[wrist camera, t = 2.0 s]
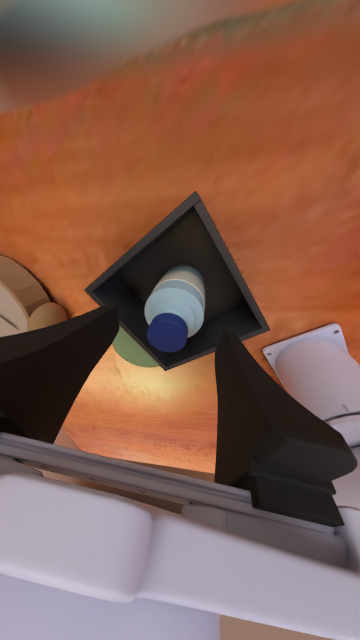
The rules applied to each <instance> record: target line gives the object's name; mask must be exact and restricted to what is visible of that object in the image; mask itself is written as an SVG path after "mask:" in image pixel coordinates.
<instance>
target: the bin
mask: <svg viewBox="0 0 360 640" xmlns="http://www.w3.org/2000/svg"><path fill="white" fill-rule="evenodd" d="M177 265H188V266H191V267H193V268H195V269H197V270H198V271H199V272H200V273H201V275H202V276H203V278H204V281H205V310H204V320H203V324H202V326H201V328H200V329H199V330H198V332H196V333H195V334H194V335H192V336H191V337H188V338H187V342H186V344H185V346H184V347H183V348H182V349H180V350H179V351H176V352H163V351H160V350H158V349H156V348H155V347H154V346H152V345H151V343H150V342H149V340H148V338H147V330H148V327H149V324H148V323H147V320H146V318H145V311H144V309H145V304H146V302H147V300H148V298H149V297H150V295H151V293H152V291H153V290H154V288H155V287H156V285H157V284H158V283H159V281H160V280H161V278H162V277H163V276H164V275H165V273H166V272H167V271H168V270H169V269H170V268H172V267H174V266H177ZM84 291H85V292H86V293H87V294H89V296H90V297H91V298H92V299H93V300H94V301H95V302H96V303H97V304H98V305H99V306H100V307H102V306H105V305H107V304H112V305H117V306H118V314H119V326H120V327H121V328H122V329H123V330H124V331H125V332H126V333H127V334H128V335H129V336H130V337H131V338H132V339H133V340H135V341H136V342H137V343H138V344H139V345H140V346H141V347H142V348H143V349H144V350H145V351H146V352H147V353H148V354H149V355H150V356H151V357H152V358H153V359H154V360H155V361H156V362H157V363H158V364H159V365H160V366H161V367H162V368H163V369H164V370H165V371H167V370H169V369H172V368H174V367H177V366H179V365H182V364H185V363H187V362H190V361H192V360H195V359H197V358H200V357H202V356H205V355H208V354H210V353H213V352H215V350H216V348H217V345H218V343H219V340H220V337H221V335H222V332H223V330H224V329H229V330H233V331H234V332H235V334H236V335H237V336H238V338H239V339H240V341H243V340H246V339H248V338H251V337H254V336H256V335H259V334H261V333H264V332H266V331H269V330H270V328H269V326H268V324H267V322H266V320H265V318H264V316H263V315H262V313H261V311H260V309H259V307H258V305H257V303H256V301H255V299H254V297H253V295H252V294H251V292H250V290H249V288H248V286H247V284H246V282H245V280H244V279H243V277H242V275H241V273H240V271H239V269H238V267H237V265H236V264H235V262H234V260H233V258H232V256H231V254H230V252H229V250H228V249H227V247H226V245H225V243H224V241H223V239H222V237H221V235H220V234H219V232H218V230H217V228H216V226H215V224H214V222H213V220H212V219H211V217H210V215H209V213H208V211H207V209H206V207H205V205H204V204H203V202H202V200H201V198H200V196H199V195H198V193H197V192H196V191H195V192H194V193H193V194H192V195H191V196H189V197H188V198H187V199H186V200H185V201H184V202H183V203H182V204H180V205H179V206H178V207H177V208H176V209H175V210H174V211H173V212H171V213H170V214H169V215H168V216H167V217H166V218H165V219H163V220H162V221H161V222H160V223H159V224H158V225H157V226H156V227H154V228H153V229H152V230H151V231H150V232H149V233H148V234H147V235H145V236H144V237H143V238H142V239H141V240H140V241H139V242H138V243H136V244H135V245H134V246H133V247H132V248H131V249H130V250H129V251H127V252H126V253H125V254H124V255H123V256H122V257H121V258H120V259H118V260H117V261H116V262H115V263H114V264H113V265H112V266H110V267H109V268H108V269H107V270H106V271H105V272H104V273H103V274H101V275H100V276H99V277H98V278H97V279H96V280H95V281H94V282H92V283H91V284H90V285H89V286H88V287H87V288H86V289H85V290H84Z"/></svg>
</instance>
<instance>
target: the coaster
mask: <svg viewBox="0 0 360 640" xmlns="http://www.w3.org/2000/svg"><path fill="white" fill-rule="evenodd" d="M112 344H113V346H114V348H115V350H116V352H117V353H118V354H119V355H120V356H121V357H122V358H124V359H125V360H126V361H128V362H130V363H132V364H134V365H137V366H141V367H156V366H159V364H158V363H157V362H156V361H155V360H154V359H153V358H152V357H151V356H150V355H149V354H148V353H147V352H146V351H145V350H144V349H143V348H142V347H141V346H140V345H139V344H138V343H137V342H136V341H135V340H133V339H132V338H131V337H130V336H129V335H128V334H127V333H126V332H125V331H124V330H123V329H122V328H121V327H120V326H119V332H118V334H117V335H116V337H115V339H114V341H113V342H112Z"/></svg>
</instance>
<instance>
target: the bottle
mask: <svg viewBox="0 0 360 640" xmlns="http://www.w3.org/2000/svg"><path fill="white" fill-rule="evenodd" d="M204 310H205V281H204V278H203V276H202V275H201V273H200V272H199V271H198V270H197V269H195V268H193V267H191V266H188V265H177V266H174V267H172V268H170V269H169V270H168V271H167V272H166V273H165V275H164V276H163V277H162V278H161V280H160V281H159V283H158V284H157V285H156V287H155V288H154V290H153V291H152V293H151V295H150V297H149V298H148V300H147V302H146V304H145V309H144V311H145V318H146V320H147V323H148V324H149V327H148V330H147V338H148V340H149V342H150V343H151V345H152V346H154V347H155V348H156V349H158V350H160V351H163V352H176V351H179V350H180V349H182V348H183V347H184V346H185V344H186V342H187V338H188V337H191V336H192V335H194V334H195V333H196V332H198V330H199V329H200V328H201V326H202V324H203V320H204Z"/></svg>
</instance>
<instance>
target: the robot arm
mask: <svg viewBox="0 0 360 640" xmlns="http://www.w3.org/2000/svg"><path fill="white" fill-rule="evenodd" d="M335 330H336V331H335ZM334 331H335V332H334ZM118 332H119V314H118V306H117V305H112V304H107V305H105V306H102V307H99V308H97V309H95V310H92V311H90V312H87V313H85V314H82V315H80V316H77V317H75V318H72V319H69V320H66V321H64V322H61V323H58V324H54V325H51V326H48V327H44V328H40V329H36V330H32V331H27V332H23V333H19V334H14V335H8V336H3V337H0V640H220V615H219V614H222V615H226V616H231V617H235V618H240V619H244V620H249V621H253V622H258V623H262V624H267V625H271V626H276V627H281V628H285V629H290V630H294V631H299V632H303V633H308V634H312V635H317V636H321V637H326V638H330V639H335V640H360V365H359V364H358V363H357V362H356V361H355V360H354V359H353V358H352V357H351V356H350V355H349V353H348V350H347V346H346V343H345V340H344V337H343V334H342V330H341V327H340V325H338V324H337V323H332V324H329V325H327V326H324V327H321V328H318V329H315V330H312V331H310V332H307V333H304V334H301V335H298V336H296V337H293V338H290V339H287V340H284V341H281V342H279V343H276V344H273V345H270V346H267V347H265V348H263V350H262V351H263V353H264V355H265V357H266V358H267V360H268V362H269V363H270V365H271V367H272V368H273V370H274V372H275V373H276V375H277V377H278V378H279V380H280V382H281V383H282V385H283V387H284V388H285V390H286V391H285V390H284V389H283V388H282V387H280V386H279V385H278V384H277V383H276V382H275V381H274V380H273V379H272V378H271V377H270V376H269V375H268V374H267V373H266V372H265V371H264V370H263V368H262V367H261V366H260V365H259V364H258V363H257V362H256V360H255V359H254V358H253V357H252V355H251V354H250V353H249V352H248V350H247V349H246V348H245V346H244V345H243V343H242V342H241V341H240V339H239V338H238V336H237V335H236V334H235V332H234V331H233V330H229V329H224V330H223V332H222V335H221V337H220V340H219V343H218V345H217V348H216V350H215V373H216V384H217V395H218V425H217V450H216V467H215V481H214V483H213V482H209V481H205V480H201V479H197V478H192V477H188V476H184V475H180V474H176V473H172V472H168V471H163V470H159V469H155V468H151V467H147V466H142V465H138V464H134V463H130V462H125V461H122V460H117V459H113V458H109V457H105V456H101V455H96V454H92V453H88V452H84V451H80V450H76V449H71V448H67V447H63V446H59V445H55V444H53V443H54V441H55V439H56V437H57V435H58V433H59V431H60V429H61V427H62V424H63V422H64V420H65V418H66V416H67V414H68V412H69V411H70V409H71V407H72V405H73V403H74V401H75V399H76V397H77V395H78V394H79V392H80V390H81V388H82V386H83V385H84V383H85V381H86V380H87V378H88V376H89V375H90V373H91V371H92V370H93V368H94V367H95V366H96V364H97V363H98V362H99V360H100V359H101V358H102V356H103V355H104V354H105V352H106V351H107V349H108V348H109V347H110V345H111V344H112V342H113V341H114V339H115V337H116V335H117V334H118ZM267 353H269V354H267ZM29 466H30V467H29ZM31 467H34V468H38V469H42V470H46V471H50V472H54V473H58V474H63V475H67V476H71V477H75V478H79V479H83V480H87V481H91V482H95V483H99V484H103V485H108V486H112V487H116V488H120V489H124V490H128V491H132V492H136V493H141V494H145V495H149V496H153V497H157V498H161V499H165V500H170V501H173V502H177V503H182V504H186V505H184V506H183V507H182V514H176V513H172V512H169V511H166V510H163V509H160V508H157V507H154V506H151V505H148V504H145V503H141V502H137V501H135V500H132V499H129V498H125V497H122V496H118V495H115V494H111V493H107V492H103V491H98V490H95V489H91V488H87V487H83V486H78V485H74V484H70V483H66V482H62V481H58V480H54V479H50V478H46V477H44V476H43V474H42V472H41V471H39V470H37V469H34V468H31ZM189 505H190V506H189Z"/></svg>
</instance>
